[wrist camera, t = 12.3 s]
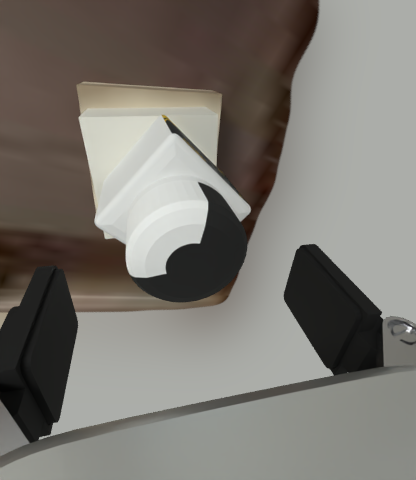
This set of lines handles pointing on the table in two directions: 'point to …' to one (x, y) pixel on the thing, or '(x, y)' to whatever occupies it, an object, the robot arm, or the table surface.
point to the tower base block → (144, 99)
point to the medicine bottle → (174, 216)
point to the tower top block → (139, 134)
